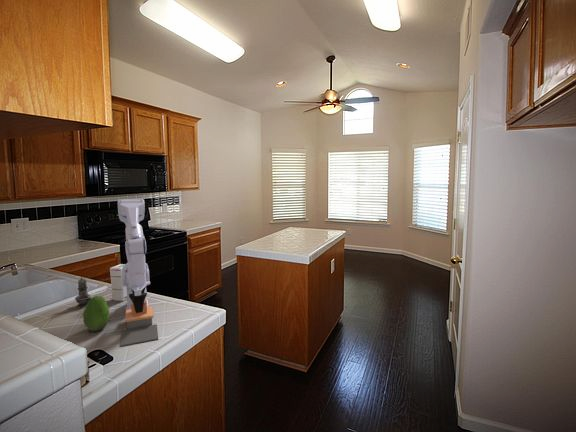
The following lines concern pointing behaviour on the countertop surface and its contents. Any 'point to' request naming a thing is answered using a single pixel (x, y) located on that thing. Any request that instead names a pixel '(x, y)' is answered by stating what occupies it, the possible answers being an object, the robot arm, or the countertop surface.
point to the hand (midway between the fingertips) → (139, 308)
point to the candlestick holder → (82, 294)
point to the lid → (134, 316)
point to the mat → (139, 335)
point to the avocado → (96, 313)
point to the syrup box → (118, 283)
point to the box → (139, 323)
